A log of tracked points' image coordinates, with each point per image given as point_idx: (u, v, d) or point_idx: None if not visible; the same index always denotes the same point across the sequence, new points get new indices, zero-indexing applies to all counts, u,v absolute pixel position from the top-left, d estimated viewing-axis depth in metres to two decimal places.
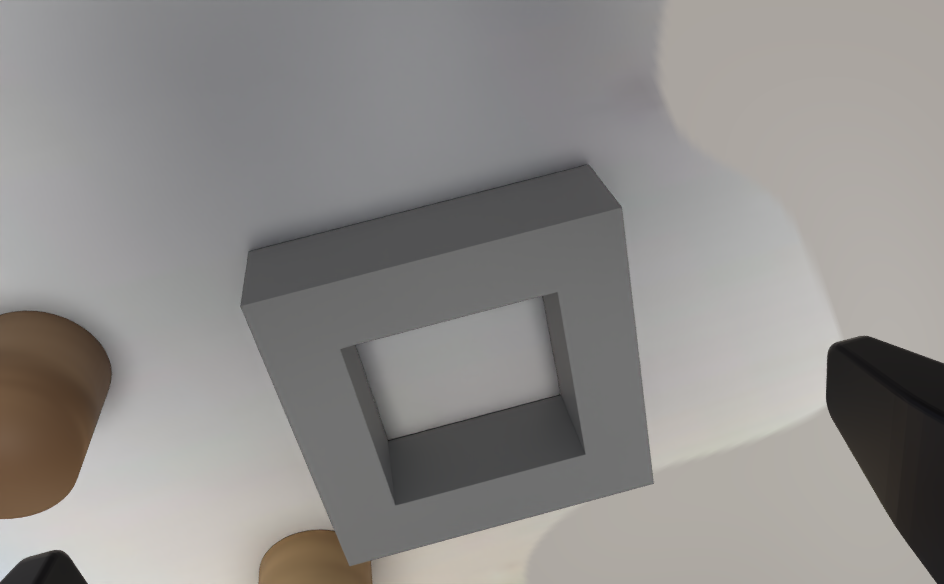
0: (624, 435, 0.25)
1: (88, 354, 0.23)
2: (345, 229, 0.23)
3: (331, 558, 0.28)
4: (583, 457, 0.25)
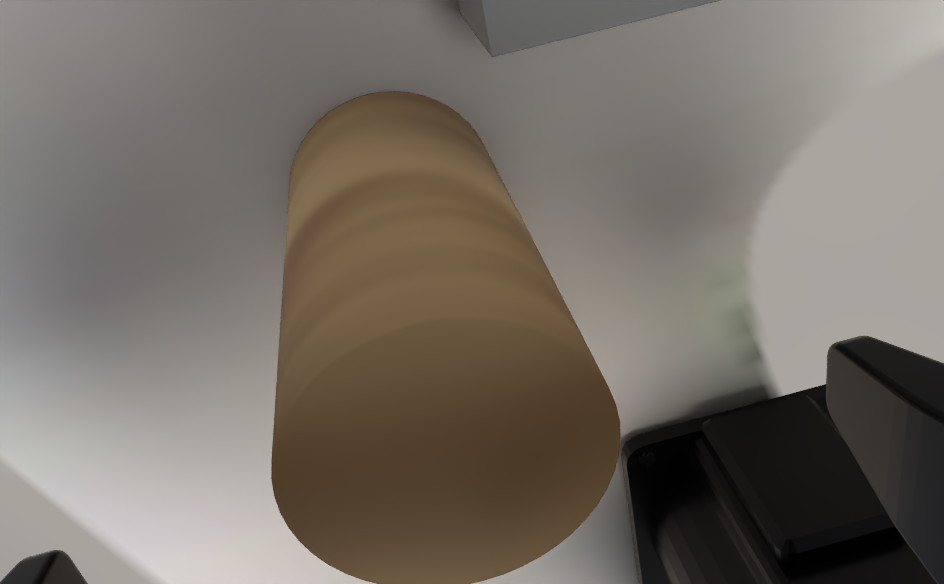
0: None
1: None
2: None
3: (434, 118, 0.14)
4: None
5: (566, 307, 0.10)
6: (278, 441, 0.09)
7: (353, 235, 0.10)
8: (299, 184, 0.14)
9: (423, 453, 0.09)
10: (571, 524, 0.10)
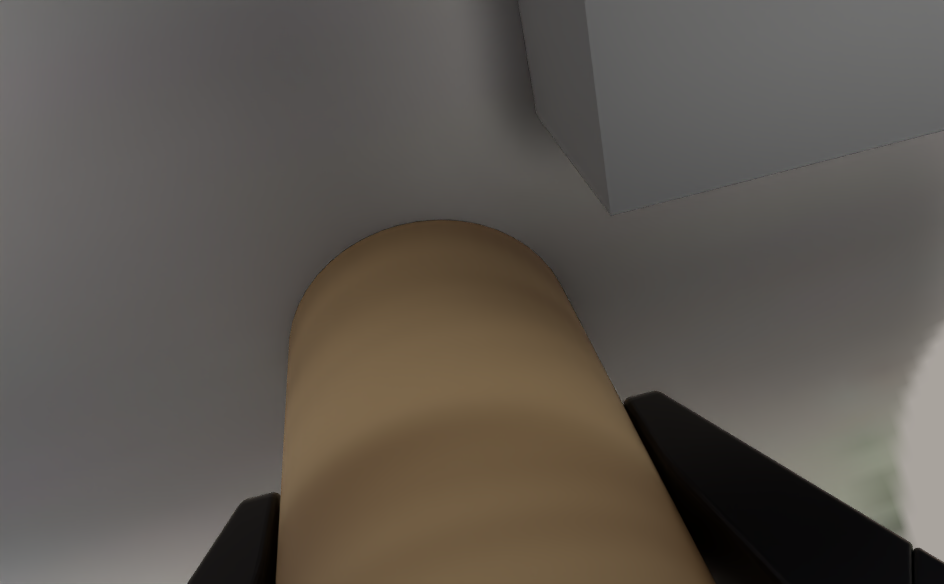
0: None
1: None
2: None
3: (502, 272, 0.10)
4: None
5: None
6: None
7: (399, 577, 0.06)
8: (303, 380, 0.09)
9: None
10: None
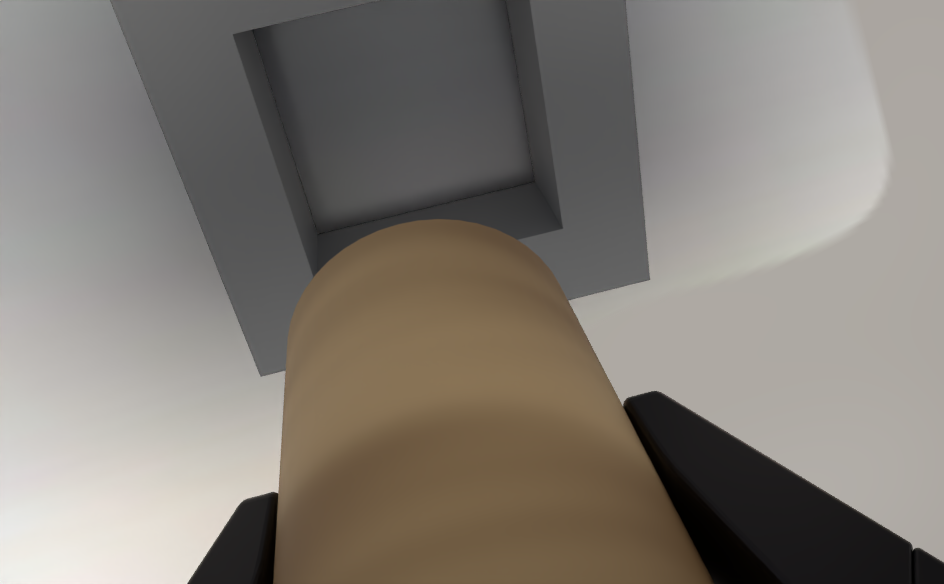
0: (612, 202, 0.20)
1: None
2: None
3: (500, 271, 0.10)
4: (560, 233, 0.20)
5: None
6: None
7: (396, 574, 0.06)
8: (301, 379, 0.09)
9: None
10: None
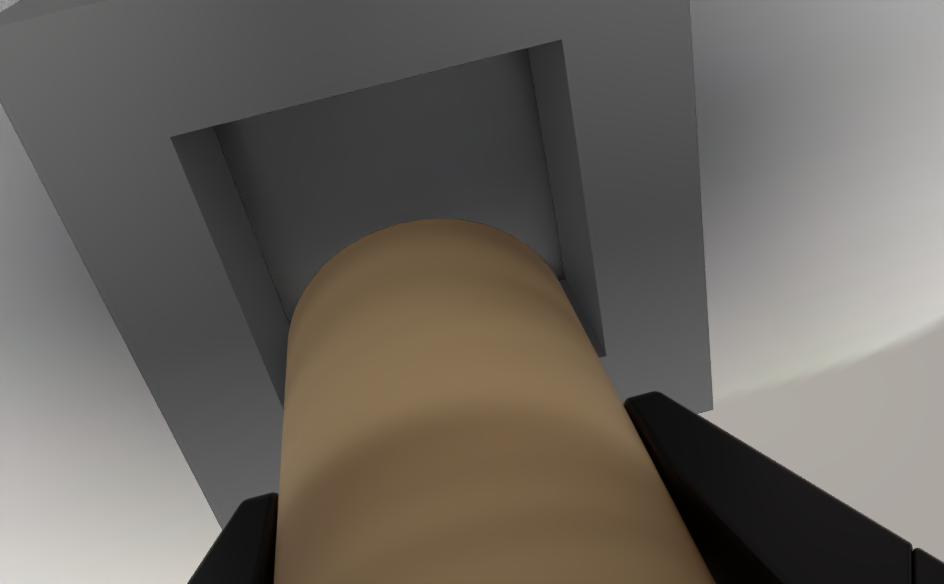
0: (669, 323, 0.15)
1: None
2: None
3: (501, 270, 0.10)
4: (602, 361, 0.16)
5: None
6: None
7: (396, 575, 0.06)
8: (301, 378, 0.09)
9: None
10: None
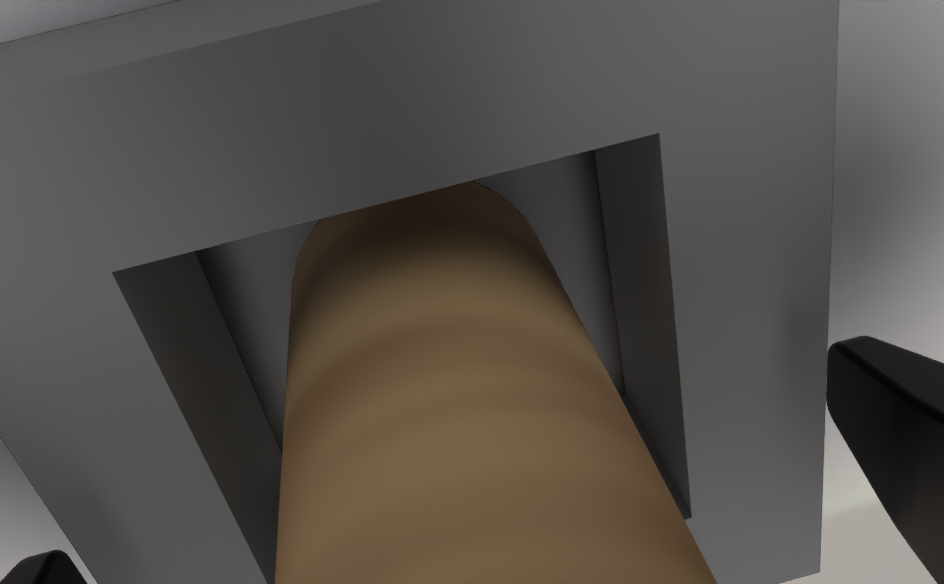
0: (774, 478, 0.12)
1: None
2: (157, 7, 0.10)
3: (481, 216, 0.11)
4: (686, 523, 0.12)
5: (697, 547, 0.07)
6: None
7: (383, 438, 0.07)
8: (304, 308, 0.10)
9: None
10: None
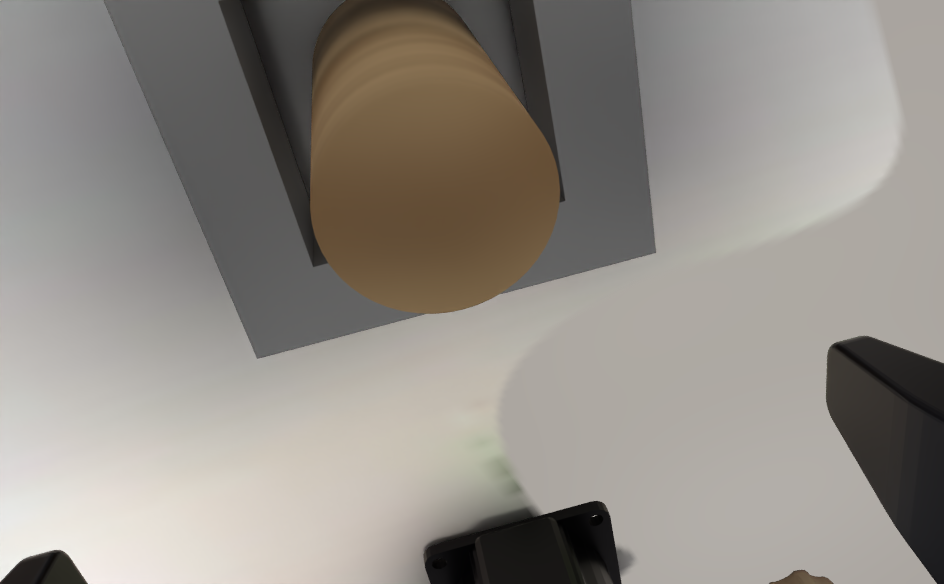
0: (616, 173, 0.19)
1: None
2: None
3: (429, 0, 0.18)
4: (562, 206, 0.19)
5: None
6: (315, 176, 0.13)
7: (366, 55, 0.14)
8: (322, 48, 0.17)
9: (417, 193, 0.13)
10: (526, 263, 0.14)
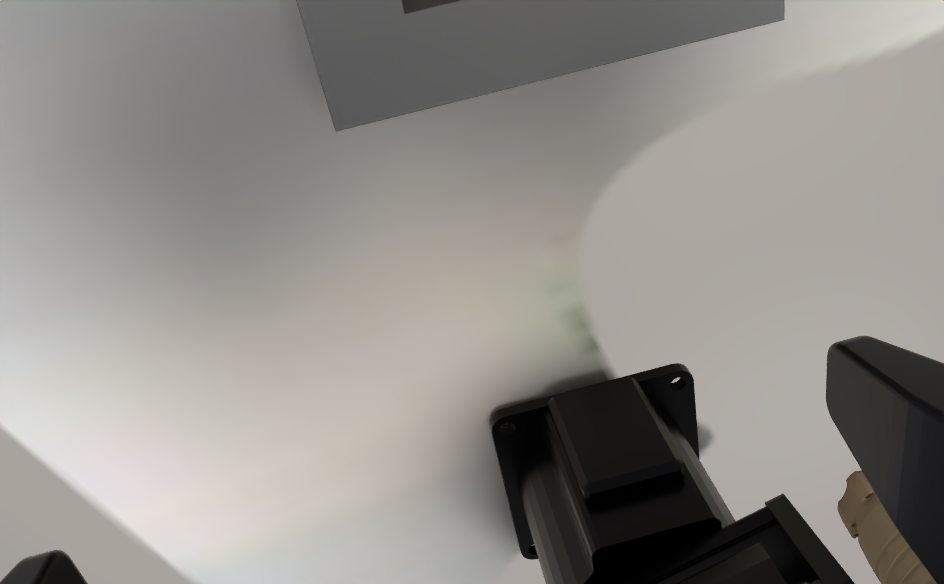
0: None
1: None
2: None
3: None
4: None
5: None
6: None
7: None
8: None
9: None
10: None
